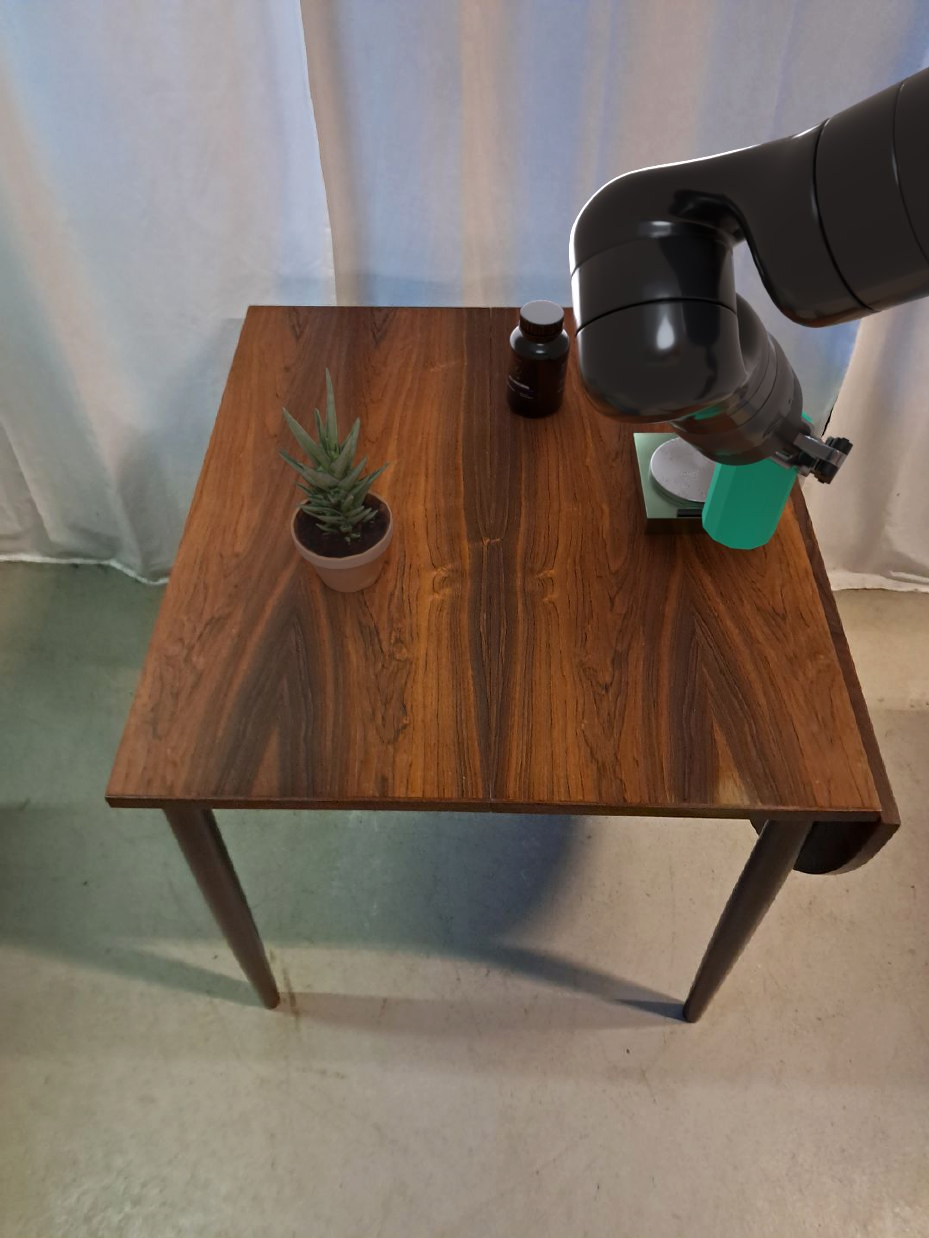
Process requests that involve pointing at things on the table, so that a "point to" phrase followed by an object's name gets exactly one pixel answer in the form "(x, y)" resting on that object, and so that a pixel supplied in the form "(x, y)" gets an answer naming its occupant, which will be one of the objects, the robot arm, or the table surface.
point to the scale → (670, 483)
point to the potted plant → (338, 507)
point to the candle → (747, 502)
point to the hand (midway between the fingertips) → (772, 444)
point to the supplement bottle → (538, 360)
